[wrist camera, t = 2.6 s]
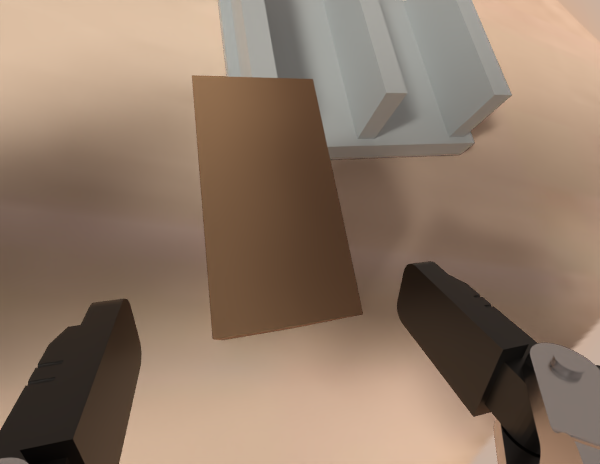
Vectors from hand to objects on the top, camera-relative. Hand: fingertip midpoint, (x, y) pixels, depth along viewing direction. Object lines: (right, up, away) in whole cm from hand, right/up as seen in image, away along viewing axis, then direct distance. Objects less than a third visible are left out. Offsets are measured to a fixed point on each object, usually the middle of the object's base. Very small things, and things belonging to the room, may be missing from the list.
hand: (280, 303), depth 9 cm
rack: (+3, +13, +14) cm, 19 cm away
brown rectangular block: (-2, 0, +8) cm, 8 cm away
